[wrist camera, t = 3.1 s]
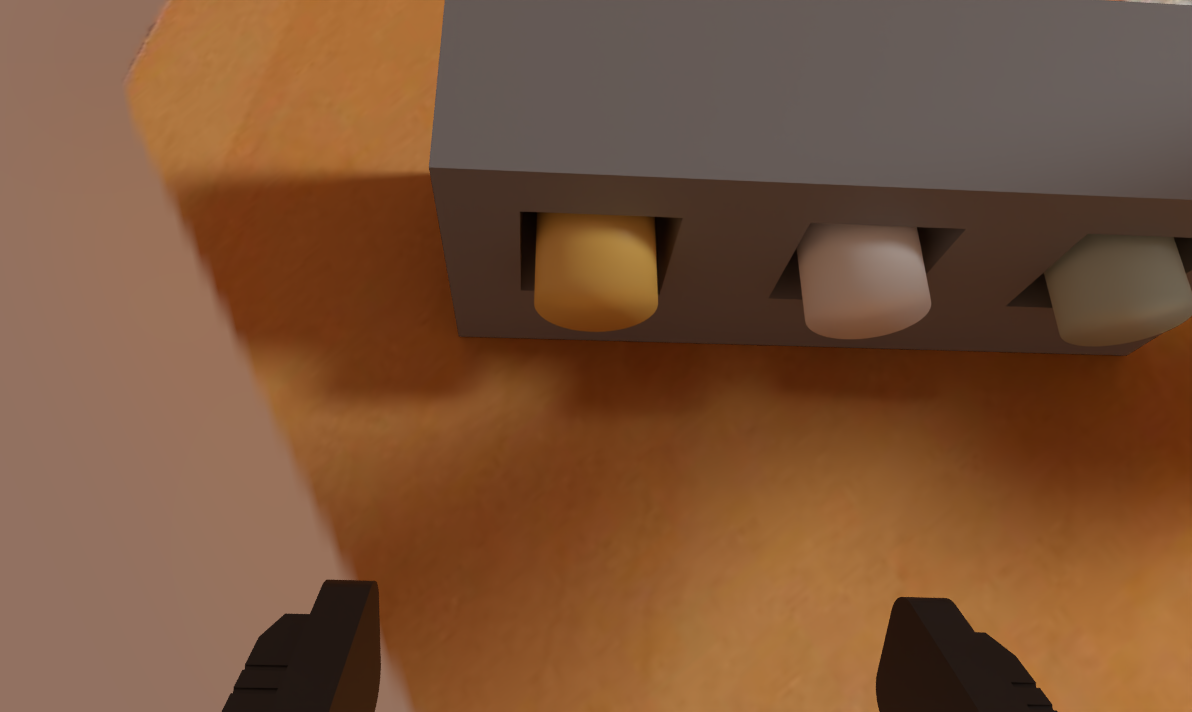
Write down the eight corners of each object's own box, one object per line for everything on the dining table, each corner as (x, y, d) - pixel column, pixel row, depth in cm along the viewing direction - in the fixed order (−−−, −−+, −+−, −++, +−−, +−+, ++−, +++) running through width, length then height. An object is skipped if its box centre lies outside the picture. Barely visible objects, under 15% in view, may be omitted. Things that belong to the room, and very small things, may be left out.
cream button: (877, 199, 32) (922, 131, 28) (901, 341, 29) (953, 286, 26) (774, 195, 32) (806, 125, 28) (790, 337, 29) (827, 282, 26)
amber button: (644, 189, 31) (659, 118, 28) (649, 333, 29) (666, 276, 25) (538, 185, 31) (539, 113, 27) (533, 330, 29) (534, 271, 25)
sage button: (1100, 208, 33) (1172, 143, 29) (1142, 347, 30) (1226, 295, 26) (1002, 204, 32) (1062, 138, 29) (1036, 344, 30) (1107, 291, 26)
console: (1080, 197, 38) (1276, 10, 28) (1126, 355, 35) (1365, 207, 25) (470, 171, 36) (448, -40, 26) (458, 336, 33) (428, 167, 23)
